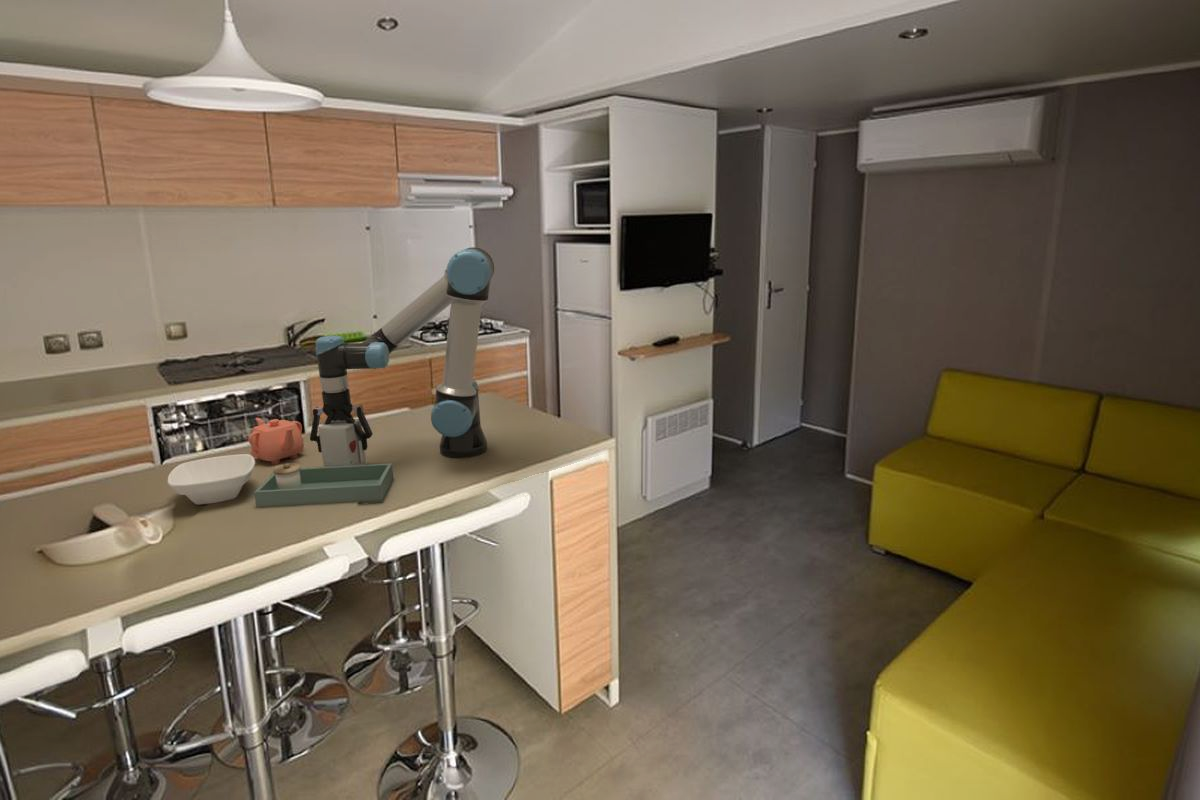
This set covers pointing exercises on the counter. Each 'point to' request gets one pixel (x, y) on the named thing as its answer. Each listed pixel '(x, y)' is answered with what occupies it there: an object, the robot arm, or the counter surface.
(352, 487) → the tray
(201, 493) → the bowl
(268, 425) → the teapot
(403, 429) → the counter surface
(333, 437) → the supplement box
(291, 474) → the jar
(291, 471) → the lid
